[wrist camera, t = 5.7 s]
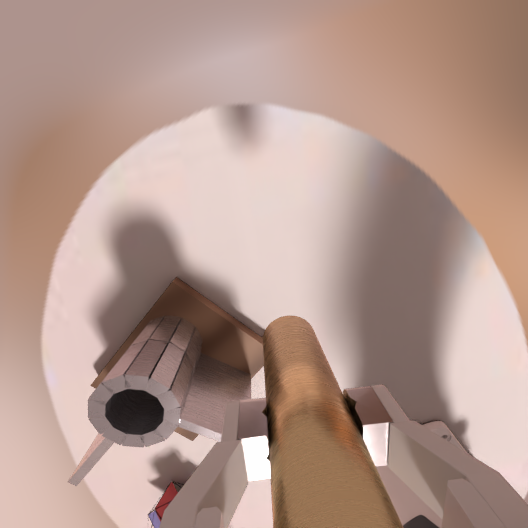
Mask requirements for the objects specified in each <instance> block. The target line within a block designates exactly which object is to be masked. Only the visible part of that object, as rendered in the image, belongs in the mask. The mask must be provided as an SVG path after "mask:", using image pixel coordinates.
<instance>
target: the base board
mask: <svg viewBox="0 0 528 528" xmlns="http://www.w3.org/2000/svg"><path fill="white" fill-rule="evenodd" d="M166 315H168V316H176V317H181V320H182V318H184V319H186V320H187V321H189V322H190V323H192V324H193V325H195V327H196V328H197V330H198V332H199V334H200V336H201V338H202V348H201V353H203V354H205V355H208V356H210V357H212V358H214V359H217V360H219V361H221V362H223V363H226V364H228V365H230V366H233V367H235V368H237V369H239V370H242V371H244V372H246V373H248V374H251V378H252V377H253V376H254V375H255V374H256V373H257V372H258V371H259V370H260V369H261V368H262V367H263V366H264V355H263V338H262V337H261V336H259V335H258V334H256V333H255V332H253V331H252V330H251V329H249V328H248V327H246V326H245V325H244V324H242V323H241V322H239V321H238V320H237V319H235V318H234V317H232V316H231V315H229V314H228V313H227V312H225V311H224V310H222V309H221V308H220V307H218V306H217V305H215V304H214V303H213V302H211V301H210V300H208V299H207V298H205V297H204V296H203V295H201V294H200V293H198V292H197V291H196V290H194V289H193V288H191V287H190V286H189V285H187V284H186V283H184V282H183V281H181V280H180V279H179V278H177V277H176V278H175V279H174V280H173V281H172V283H171V284H170V285H169V287H168V288H167V289H166V290H165V292H164V293H163V294H162V295H161V297H160V298H159V299H158V300H157V302H156V303H155V304H154V306H153V307H152V308H151V309H150V311H149V312H148V313H147V314H146V316H145V317H144V318H143V320H142V321H141V322H140V323H139V325H138V326H137V327H136V328H135V330H134V331H133V332H132V333H131V335H130V336H129V337H128V339H127V340H126V341H125V342H124V344H123V345H122V346H121V347H120V349H119V350H118V351H117V352H116V354H115V355H114V356H113V358H112V359H111V360H110V361H109V363H108V364H107V365H106V366H105V368H104V369H103V370H102V372H101V373H100V374H99V375H98V377H97V378H96V379H95V380H94V382H93V383H92V384H91V385H90V386H92V387H94V388H97V387H98V386H99V384H100V383H101V382H102V381H103V379H104V378H105V377H106V376H107V374H108V373H109V372H110V371H111V369H112V368H113V367H114V366H115V364H116V363H117V362H118V361H119V359H120V358H121V357H122V356H123V354H124V353H125V352H126V350H127V349H128V348H129V347H130V345H131V344H132V343H133V342H134V340H135V339H136V338H137V337H138V335H139V334H140V333H141V332H142V330H143V329H144V328H145V327H146V325H147V324H148V323H149V322H150V321H151V320H154V319H156V318H159V317H162V316H166ZM174 431H175V432H177V433H179V434H181V435H182V436H184V437H186V438H188V439H190V440H192V441H193V440H194V439H195V438H196V437H197V436H198V435H199V434H197V433H194V432H191V431H189V430H186V429H183V428H180V427H177V428H176V429H175V430H174Z"/></svg>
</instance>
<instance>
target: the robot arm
mask: <svg viewBox="0 0 528 528" xmlns="http://www.w3.org/2000/svg"><path fill="white" fill-rule="evenodd" d="M343 396H344V398H345V400H346V402H347V405H348V407H349V409H350V411H351V413H352V416H353V418H354V420H355V422H356V424H357V427H358V429H359V431H360V433H361V435H362V438H363V440H364V442H365V444H366V446H367V449H368V451H369V453H370V455H371V457H372V460H373V462H374V464H375V466H376V468H377V471H378V473H379V475H380V477H381V479H382V481H383V484H384V486H385V488H386V490H387V492H388V495H389V497H390V499H391V501H392V503H393V506H394V508H395V510H396V512H397V514H398V517H399V519H400V521H401V523H402V525H403V528H528V504H527V503H526V502H525V501H524V500H523V499H522V497H521V496H520V495H519V494H518V493H517V492H516V491H515V490H514V489H513V487H512V486H511V485H510V484H509V483H508V482H507V481H506V480H505V478H504V477H503V476H502V475H501V474H500V473H499V472H497V471H496V470H494V469H492V468H491V467H489V466H487V465H486V464H484V463H483V462H481V461H479V460H478V459H476V458H474V457H473V456H471V455H470V454H468V453H467V452H466V450H465V449H464V448H463V447H462V445H461V444H460V443H459V441H458V440H457V439H456V437H455V436H454V435H453V433H452V432H451V431H450V430H449V428H448V427H447V426H446V424H445V423H444V422H442V421H434V422H430V423H427V424H424V425H421V424H419V423H418V422H416V421H410V420H409V419H408V417H407V416H406V414H405V413H404V412H403V410H402V409H401V407H400V406H399V405H398V403H397V402H396V400H395V399H394V398H393V396H392V395H391V393H390V392H389V391H388V389H387V388H386V386H384V385H383V384H382V385H373V386H366V387H358V388H349V389H344V391H343ZM269 450H270V449H269V431H268V414H267V402H266V398H259V399H246V400H239V401H227V404H226V408H225V415H224V422H223V429H222V436H221V442H217V443H216V444H215V445H214V447H213V448H212V449H211V450H210V452H209V453H208V454H207V456H206V457H205V458H204V460H203V461H202V462H201V463H200V465H199V466H198V467H197V469H196V470H195V471H194V473H193V474H192V475H191V477H190V478H189V479H188V480H187V482H186V483H185V484H184V486H183V487H182V488H181V490H180V491H179V492H178V494H177V495H176V496H175V497H174V499H173V500H172V501H171V503H170V504H169V505H168V507H167V508H166V509H165V510H164V513H163V517H162V520H161V523H160V527H159V528H227V527H228V525H229V523H230V521H231V519H232V517H233V515H234V513H235V510H236V508H237V506H238V504H239V502H240V500H241V498H242V496H243V493H244V491H245V489H246V487H247V485H248V481H255V480H261V479H268V478H271V476H270V459H269Z"/></svg>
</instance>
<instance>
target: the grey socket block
mask: <svg viewBox="0 0 528 528" xmlns="http://www.w3.org/2000/svg"><path fill="white" fill-rule="evenodd" d="M201 348H202V338H201V336H200V334H199V332H198V330H197V328H196V327H195V325H193V324H192V323H190V322H189V321H187V320H186V319H184V318H182V320H181V317H176V316H168V315H166V316H162V317H159V318H156V319H154V320H151V321H150V322H149V323H148V324H147V325H146V327H145V328H144V329H143V330H142V332H141V333H140V334H139V335H138V337H137V338H136V339H135V340H134V342H133V343H132V344H131V345H130V347H129V348H128V349H127V350H126V352H125V353H124V354H123V356H122V357H121V358H120V359H119V361H118V362H117V363H116V364H115V366H114V367H113V368H112V369H111V371H110V372H109V373H108V374H107V376H106V377H105V378H104V379H103V381H102V382H101V383H100V384H99V386H98V387H97V388H96V390H95V391H94V392H93V393H92V395H91V396H90V397H89V399H88V418H89V420H90V422H91V423H92V424H93V426H94V427H95V428H96V430H97V431H98V435H97V436H96V438H95V440H94V441H93V443H92V444H91V446H90V448H89V449H88V451H87V452H86V454H85V455H84V457H83V459H82V460H81V462H80V463H79V465H78V466H77V468H76V470H75V472H74V473H73V474H72V476H71V478H70V479H69V481H68V482H69V483H71V484H73V485H75V486H77V485H78V484H79V483H80V481H81V480H82V479H83V478H84V477H85V476H86V475H87V473H88V472H89V471H90V470H91V469H92V468H93V466H94V465H95V464H96V463H97V462H98V461H99V459H100V458H101V457H102V456H103V455H104V454H105V452H106V451H107V450H108V449H109V448H110V447H111V445H112V444H113V443H114V442H115V443H117V444H119V445H121V444H122V446H132V447H144V445H145V447H147V446H150V445H153V444H156V443H159V442H162V441H165V439H167V438H168V437H169V436H170V435H171V434H172V433H173V432H174V430H175V429H176V428H177V427H180V428H183V429H186V430H189V431H191V432H194V433H197V434H199V435H202V436H205V437H207V438H210V439H213V440H216V441H218V442H221V436H222V429H223V422H224V415H225V408H226V404H227V401H239V400H246V399H251V374H248V373H246V372H244V371H242V370H239V369H237V368H235V367H233V366H230V365H228V364H226V363H223V362H221V361H219V360H217V359H214V358H212V357H210V356H208V355H205V354H203V353H201Z"/></svg>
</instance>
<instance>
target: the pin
mask: <svg viewBox="0 0 528 528" xmlns="http://www.w3.org/2000/svg"><path fill="white" fill-rule="evenodd" d="M263 355H264V372H265V390H266V402H267V414H268V431H269V449H270V450H269V459H270V476H271V494H272V511H273V528H403V525H402V523H401V521H400V519H399V517H398V514H397V512H396V510H395V508H394V506H393V503H392V501H391V499H390V497H389V495H388V492H387V490H386V488H385V486H384V484H383V481H382V479H381V477H380V475H379V473H378V471H377V468H376V466H375V464H374V462H373V460H372V457H371V455H370V453H369V451H368V449H367V446H366V444H365V442H364V440H363V438H362V435H361V433H360V431H359V429H358V427H357V424H356V422H355V420H354V418H353V416H352V413H351V411H350V409H349V407H348V405H347V402H346V400H345V398H344V396H343V394H342V391H341V389H340V387H339V385H338V383H337V381H336V378H335V376H334V374H333V372H332V370H331V367H330V365H329V363H328V361H327V359H326V356H325V354H324V352H323V350H322V348H321V345H320V343H319V341H318V339H317V337H316V334H315V332H314V330H313V328H312V326H311V325H310V324H309V323H308V322H307V321H306V320H304V319H302V318H300V317H297V316H283V317H280V318H278V319H276V320H274V321H273V322H271V323H270V324H269V325H268V327H267V328H266V330H265V332H264V334H263Z"/></svg>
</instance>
